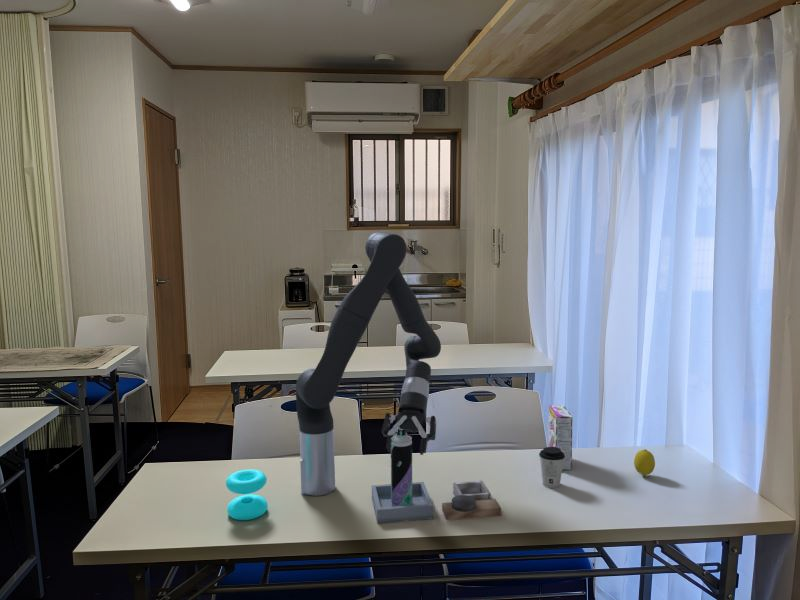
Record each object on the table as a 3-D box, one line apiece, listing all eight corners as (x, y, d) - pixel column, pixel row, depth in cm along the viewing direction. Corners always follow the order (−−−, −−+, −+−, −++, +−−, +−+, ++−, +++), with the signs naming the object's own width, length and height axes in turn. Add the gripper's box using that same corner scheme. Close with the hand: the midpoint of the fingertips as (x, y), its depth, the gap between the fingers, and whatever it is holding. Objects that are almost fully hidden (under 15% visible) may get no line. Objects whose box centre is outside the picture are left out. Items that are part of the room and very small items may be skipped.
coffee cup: (554, 492, 170) (555, 457, 168) (533, 484, 175) (533, 449, 174) (569, 484, 174) (570, 450, 173) (548, 477, 180) (549, 443, 178)
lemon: (655, 474, 180) (657, 447, 179) (652, 481, 176) (653, 454, 175) (635, 470, 183) (637, 444, 182) (631, 477, 179) (632, 450, 178)
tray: (377, 523, 154) (377, 509, 154) (371, 497, 168) (371, 485, 167) (433, 518, 156) (433, 505, 155) (423, 494, 170) (423, 481, 169)
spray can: (397, 510, 158) (396, 434, 156) (387, 501, 163) (386, 427, 160) (416, 505, 161) (415, 430, 158) (406, 497, 166) (405, 424, 163)
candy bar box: (546, 455, 195) (547, 404, 193) (563, 455, 195) (564, 404, 193) (554, 470, 184) (556, 416, 182) (572, 470, 184) (573, 416, 182)
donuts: (220, 473, 161) (258, 464, 166) (222, 510, 162) (260, 500, 167) (232, 487, 152) (272, 477, 157) (234, 526, 154) (273, 515, 159)
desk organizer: (446, 520, 155) (446, 507, 154) (435, 494, 169) (435, 482, 169) (501, 516, 157) (501, 503, 156) (485, 491, 171) (485, 478, 171)
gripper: (386, 389, 173) (376, 444, 163) (437, 391, 169) (430, 448, 160) (392, 402, 178) (382, 456, 169) (441, 405, 175) (434, 460, 166)
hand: (405, 452), depth 164 cm, fingers open, 8 cm apart
